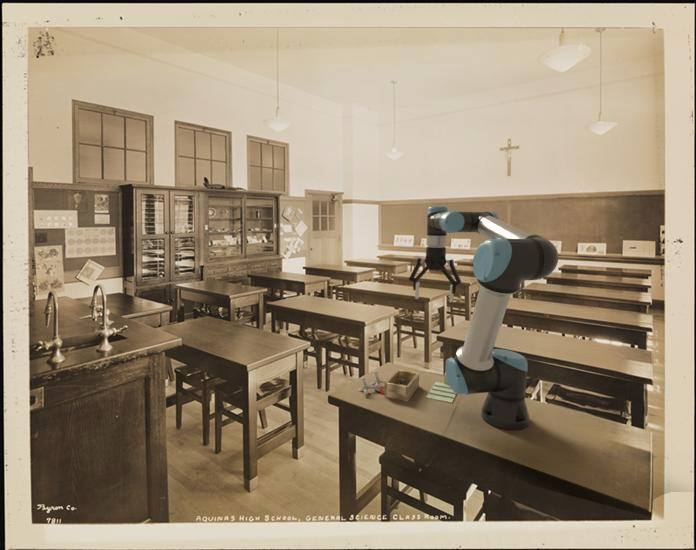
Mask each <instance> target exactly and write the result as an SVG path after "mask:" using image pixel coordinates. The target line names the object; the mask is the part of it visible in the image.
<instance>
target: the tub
mask: <svg viewBox="0 0 696 550" xmlns="http://www.w3.org/2000/svg"><path fill="white" fill-rule="evenodd" d="M400 379H406V386H403V385H400ZM419 387H420V373H419V372H413V371H408V370H402V369H396V370H395V372H394V373H392V375H391V376H390V377H389V378H388V379H387V381H386V382H385V384H384V390H385V392H384V394H383V395H384V398H388V399H394V400H399V401H403V402H406V403H407V402H409V401H410V399H411V398H412V396H413V395H414V393H415V392H416V391H417V390H418V388H419Z"/></svg>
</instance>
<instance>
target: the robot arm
mask: <svg viewBox="0 0 696 550" xmlns="http://www.w3.org/2000/svg"><path fill="white" fill-rule="evenodd" d="M448 210H449V209H448V207H447V206H443V205H442V206H441V205H439V206H433V205H432V206H428V208H427V215H426V219H427V220H426V242H425V243H426V244H425V245H426V246H427V247H426V248H425V249H426V250H425V258H423V257H419V258H417V261H416V265H415V266H414V267H413V268H414V269H413V270H412V272H411V274H410V275H409V278H408V280H409V281H410V282H413V284H412V285H413V286H412V288H413V291H415V294H414V295H415V296H414V297H415V298H414V299H415V300H417V299H419V298H420V281H419V280H420V279H421V278H422V277H423V276H424V275H425V274H426V273H427V272H428V271H438V272H439V271H441V272H442V273H443V275H444V276H445V277H446V279H447V280H448V281H449V282H450V283H451V284H450V285H449V303H453V301H454V295H455V294H456V293H457V286H459V285H460V284H462V280H461V278H460V275H459V273H458V271H457V269H456V266H455V261H454V259H453V258H451V259H447V257H446V255H447V248H446V246H447V233H448V234H454V233H476V234H477V233H478V234H479V235H481V236H483V237H484V238H486V240H485V241H483V242H481V243H480V244H479V245H478V247H477V248H476V250H475V252H474V255H473V258H472V265H473V267H472V272H473V274H474V276H475V278H476V282H477V284H478V285H479V286H480V287H479V290H478V294H477V298H476V302H475V304H474V308H473V311H472V315H471V318H470V321H469V325H468V328H467V333H466V336H465V339H464V343H463V345H462V346H460V347H459V348H458V349H457V350H456V353H455V357H449V358H447V360H446V361H445V372H446V376H447V380H448V383H449V385H450V387H451V389H452V390H453V391H454V392H455V393H456V395H473V394H484V393H485V394H486V393H487V396H486V398H485V400H484V402H483V405H482V407H481V412H480V415H481V416H480V417H481V418H482V420H484V422H486V423H488V424H489V425H491V426H494V427H496V428H498V429H499V428H500V429H504V430H510V431H511V430H513V431H517V430H519V431H520V430H523V429H526V428H527V427H528V426H529V424H530V414H529V410H528V407H527V403H526V391H527V377H528V372H529V370H528V367H529V366H528V360H527V358H526V357H525V356H524V355H522V354H520V353H518V352H515V351H512V350H508V349H502V348H494V347H495V345H496V341H497V338H498V335H499V332H500V331H501V327H502V323H503V320H504V318H505V317H504V316H505V314H506V311H507V309H508V306H509V302H510V299H511V297H512V295H514V294H517V292H519V290H520V287H521V284H522V282H525V281H538V280H542V279H545V278H546V277H548V276H549V275H551V274H552V273H553V272H554V270H555V269H556V268H557V265H558V262H559V253H558V249H557V248H556V246H555V245H554V243H553V242H552V241H550V240H549V239H547V238H545V237H543V236H540V235H539V234H528V233H527V232H525V231H523V230H521V229H519V228H517V227H514V226H512V225H511V224H508V223H506V222H504V221H502V220H500V219H499V216H498V214H497V213H496V212H492V211H456V210H455V211H454V210H449V211H448ZM424 263H425V267H424V268H423V269H422V270H421V271H420V273H418V271H419V269H420V268H421V266H422V265H423V264H424ZM445 265H448V266H449V268H450V271H451V272H452V275H453V276H452V275H451V274H450V272H449V271H448V269H447V268H446V267H445ZM417 273H418V275H417ZM416 275H417V276H416Z"/></svg>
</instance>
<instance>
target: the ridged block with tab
mask: <svg viewBox="0 0 696 550" xmlns="http://www.w3.org/2000/svg"><path fill="white" fill-rule="evenodd" d="M443 375H444V378H443V382H439V381H435V383H434V384H433V385H432V388H430V390H429V391H428V393H427V395H426V396H425V398H426V399H429V400H434V401H435V400H436V401H438V402H439V401H440V402H444V403H450V404H453V402H454V400H455V398H456V395H457V394H456V393H455V392H454V391H453V390H452V389H451V387H450V385H449V383H448V380H447V376H446V371H445V373H444V374H443Z"/></svg>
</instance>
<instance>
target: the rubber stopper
mask: <svg viewBox="0 0 696 550" xmlns="http://www.w3.org/2000/svg"><path fill="white" fill-rule="evenodd" d="M401 384H403V385H406V379H400V385H401Z"/></svg>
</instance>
